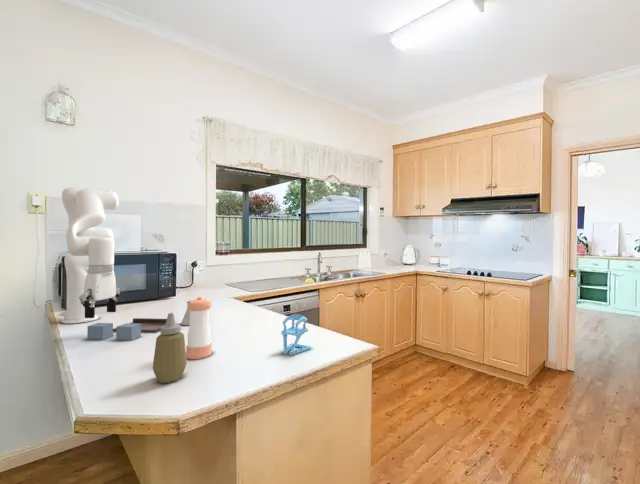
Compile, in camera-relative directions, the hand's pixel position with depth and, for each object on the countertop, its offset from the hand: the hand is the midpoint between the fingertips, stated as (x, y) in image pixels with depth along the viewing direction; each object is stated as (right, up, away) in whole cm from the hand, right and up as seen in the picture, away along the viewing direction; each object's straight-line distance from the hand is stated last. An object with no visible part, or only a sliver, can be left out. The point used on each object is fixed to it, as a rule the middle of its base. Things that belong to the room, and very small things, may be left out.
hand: (100, 314), depth 127 cm
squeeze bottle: (+48, -9, -35) cm, 60 cm away
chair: (+76, -10, -12) cm, 78 cm away
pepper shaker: (+46, -9, -17) cm, 50 cm away
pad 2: (+11, -9, 0) cm, 14 cm away
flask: (+22, -9, +22) cm, 32 cm away
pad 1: (0, -9, 0) cm, 9 cm away
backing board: (+7, -9, +14) cm, 18 cm away
